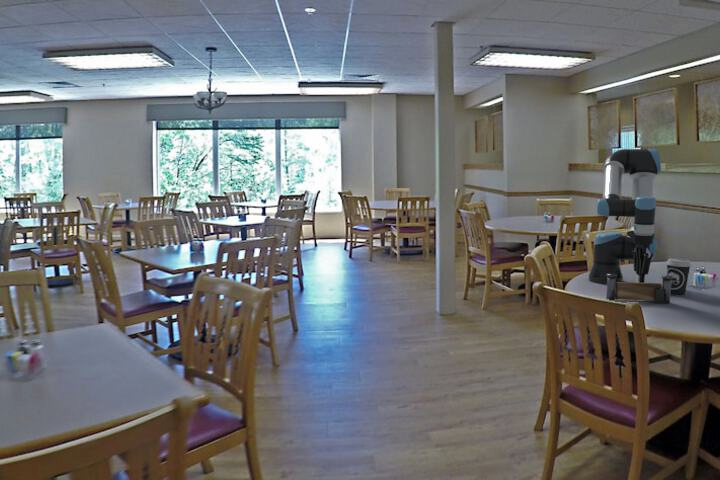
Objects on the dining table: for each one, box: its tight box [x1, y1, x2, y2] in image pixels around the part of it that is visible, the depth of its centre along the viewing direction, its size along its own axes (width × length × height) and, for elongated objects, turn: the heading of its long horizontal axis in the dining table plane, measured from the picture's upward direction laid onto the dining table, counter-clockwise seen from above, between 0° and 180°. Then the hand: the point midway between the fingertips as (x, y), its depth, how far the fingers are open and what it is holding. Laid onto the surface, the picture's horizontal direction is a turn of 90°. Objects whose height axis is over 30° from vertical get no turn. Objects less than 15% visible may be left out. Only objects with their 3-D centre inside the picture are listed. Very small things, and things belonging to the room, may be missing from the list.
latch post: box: [653, 274, 673, 305], centre depth 226 cm, size 5×7×11 cm
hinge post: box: [605, 273, 617, 301], centre depth 231 cm, size 4×4×11 cm
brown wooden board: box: [615, 281, 662, 302], centre depth 229 cm, size 2×17×7 cm, turn 76°
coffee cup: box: [665, 257, 692, 297], centre depth 239 cm, size 10×10×15 cm
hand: (639, 289), depth 234 cm, fingers closed
